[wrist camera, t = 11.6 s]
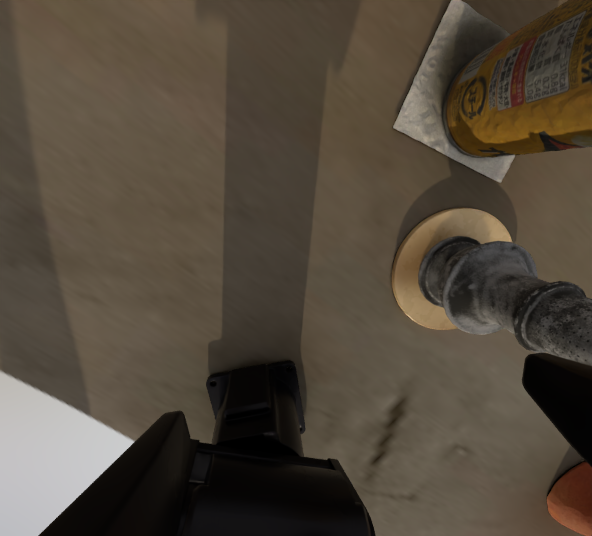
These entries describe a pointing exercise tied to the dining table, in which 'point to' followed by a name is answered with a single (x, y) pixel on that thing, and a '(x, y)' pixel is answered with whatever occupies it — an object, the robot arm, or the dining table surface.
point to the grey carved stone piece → (507, 296)
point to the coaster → (419, 245)
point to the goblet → (573, 499)
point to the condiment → (503, 88)
